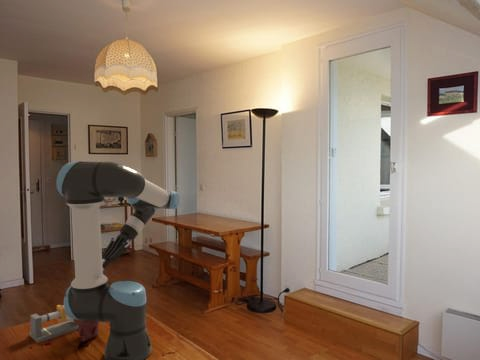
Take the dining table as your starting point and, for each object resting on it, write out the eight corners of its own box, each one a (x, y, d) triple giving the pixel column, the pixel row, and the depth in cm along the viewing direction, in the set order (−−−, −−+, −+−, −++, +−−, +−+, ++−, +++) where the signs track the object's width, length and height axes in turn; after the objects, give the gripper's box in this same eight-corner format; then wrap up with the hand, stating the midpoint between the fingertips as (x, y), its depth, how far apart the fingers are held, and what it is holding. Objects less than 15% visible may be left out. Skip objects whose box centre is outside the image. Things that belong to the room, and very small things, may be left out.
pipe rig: (75, 321, 146) (75, 301, 146) (84, 327, 141) (84, 306, 140) (29, 335, 133) (29, 313, 133) (37, 342, 128) (36, 320, 128)
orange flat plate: (60, 317, 140) (59, 304, 140) (65, 321, 136) (65, 308, 136) (56, 318, 139) (56, 305, 139) (62, 322, 136) (62, 309, 135)
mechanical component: (108, 332, 137) (92, 345, 127) (85, 329, 139) (67, 342, 129) (108, 300, 136) (92, 310, 126) (84, 298, 138) (67, 308, 128)
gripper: (145, 235, 157) (109, 282, 145) (129, 231, 166) (94, 275, 154) (134, 225, 153) (96, 272, 141) (118, 221, 162) (82, 265, 150)
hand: (95, 273), depth 148 cm, fingers closed
